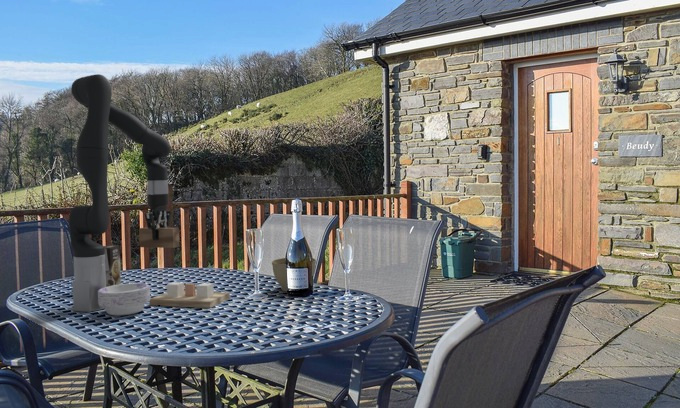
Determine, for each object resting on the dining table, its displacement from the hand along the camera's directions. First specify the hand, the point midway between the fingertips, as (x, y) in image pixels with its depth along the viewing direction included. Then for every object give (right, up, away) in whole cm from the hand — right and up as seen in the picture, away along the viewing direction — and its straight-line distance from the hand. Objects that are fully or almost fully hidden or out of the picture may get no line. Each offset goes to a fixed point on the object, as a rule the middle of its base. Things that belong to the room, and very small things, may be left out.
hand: (159, 239), depth 205 cm
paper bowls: (0, -21, -32) cm, 38 cm away
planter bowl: (+50, -19, -2) cm, 53 cm away
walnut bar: (0, -3, 0) cm, 3 cm away
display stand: (+17, -20, -19) cm, 32 cm away
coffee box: (-21, -19, +6) cm, 29 cm away
